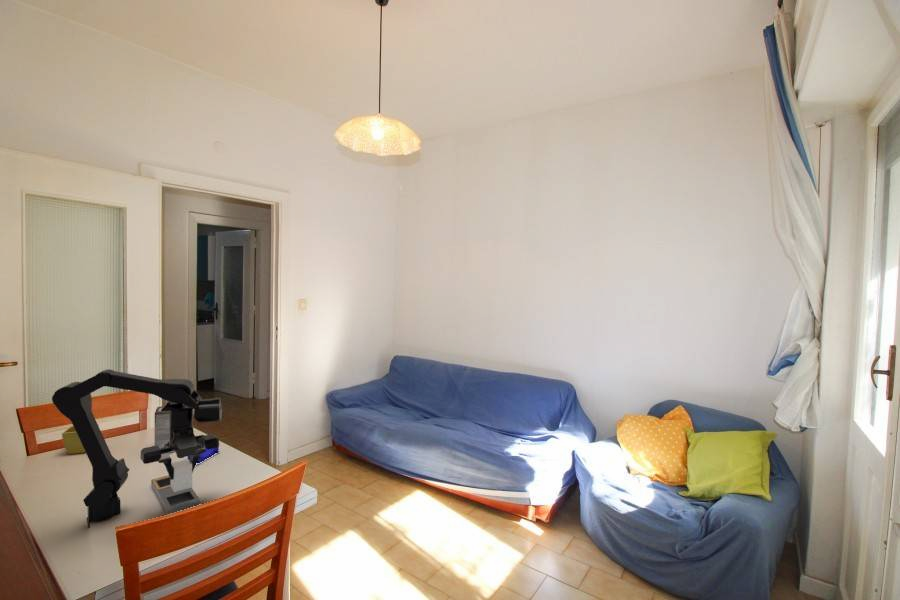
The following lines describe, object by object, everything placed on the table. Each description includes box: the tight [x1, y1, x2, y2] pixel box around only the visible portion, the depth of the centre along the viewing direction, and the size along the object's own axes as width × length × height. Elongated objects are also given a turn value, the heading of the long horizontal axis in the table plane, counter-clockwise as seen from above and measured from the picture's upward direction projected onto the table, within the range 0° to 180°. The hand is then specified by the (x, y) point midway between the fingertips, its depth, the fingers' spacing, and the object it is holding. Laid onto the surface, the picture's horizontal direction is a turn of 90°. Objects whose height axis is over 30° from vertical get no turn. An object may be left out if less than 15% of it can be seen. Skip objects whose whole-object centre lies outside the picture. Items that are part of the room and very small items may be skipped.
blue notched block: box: [187, 446, 220, 464], centre depth 157 cm, size 12×4×6 cm, turn 171°
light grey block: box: [170, 458, 193, 492], centre depth 123 cm, size 4×4×7 cm
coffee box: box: [153, 405, 170, 449], centre depth 165 cm, size 9×6×16 cm
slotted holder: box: [150, 474, 201, 515], centre depth 128 cm, size 8×24×3 cm, turn 44°
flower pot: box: [61, 423, 100, 455], centre depth 161 cm, size 9×9×9 cm
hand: (181, 476), depth 123 cm, fingers closed on light grey block, 4 cm apart
